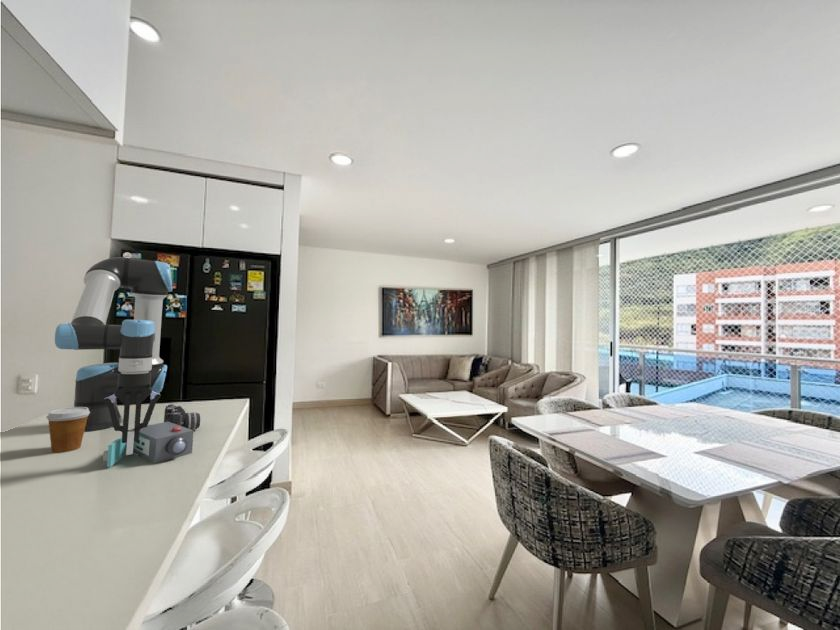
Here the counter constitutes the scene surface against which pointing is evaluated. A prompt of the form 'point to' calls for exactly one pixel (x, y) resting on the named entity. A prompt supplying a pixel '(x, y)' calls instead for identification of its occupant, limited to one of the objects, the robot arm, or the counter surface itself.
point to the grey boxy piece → (163, 442)
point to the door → (115, 452)
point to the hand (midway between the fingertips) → (129, 453)
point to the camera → (181, 417)
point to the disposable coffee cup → (67, 428)
